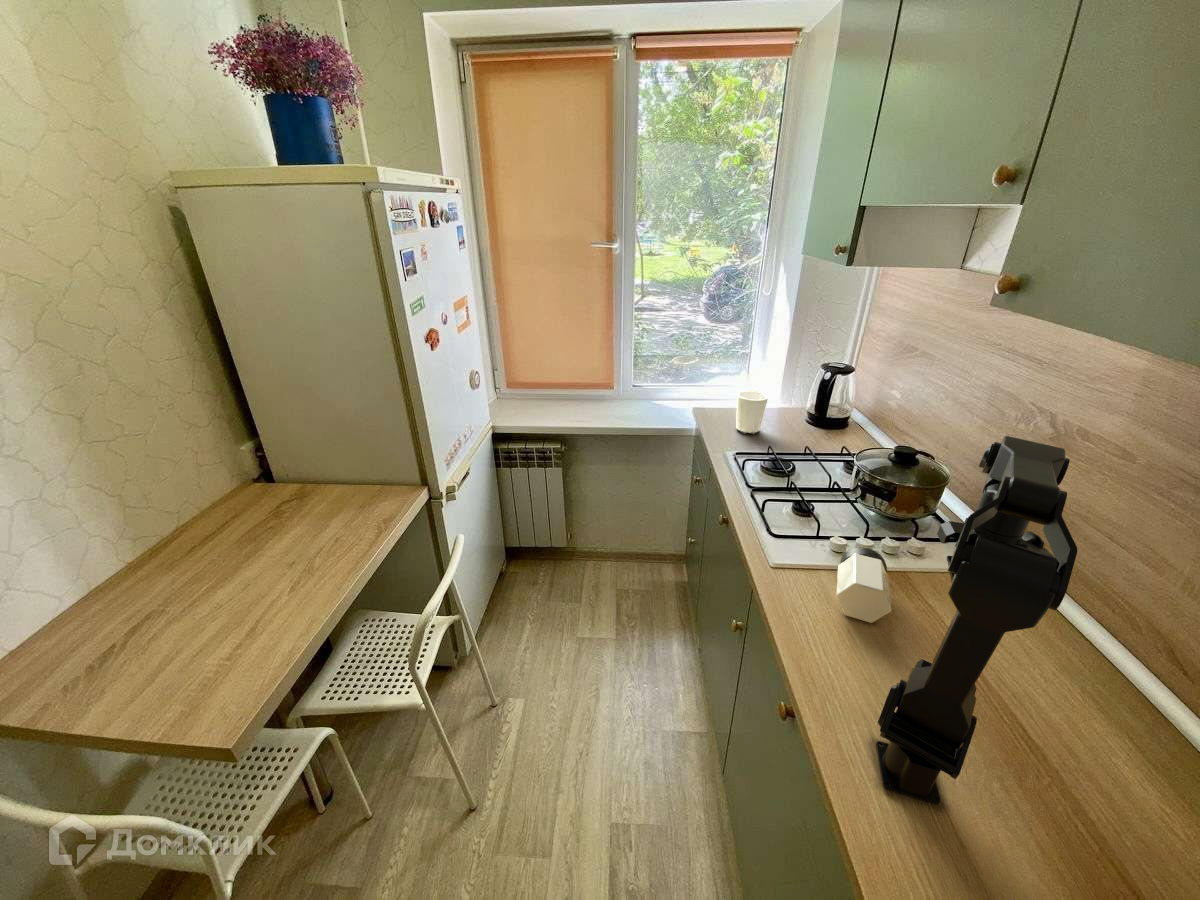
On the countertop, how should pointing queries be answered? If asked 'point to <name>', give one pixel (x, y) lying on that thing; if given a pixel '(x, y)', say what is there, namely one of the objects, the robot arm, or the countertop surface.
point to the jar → (863, 585)
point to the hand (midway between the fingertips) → (960, 609)
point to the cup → (750, 411)
